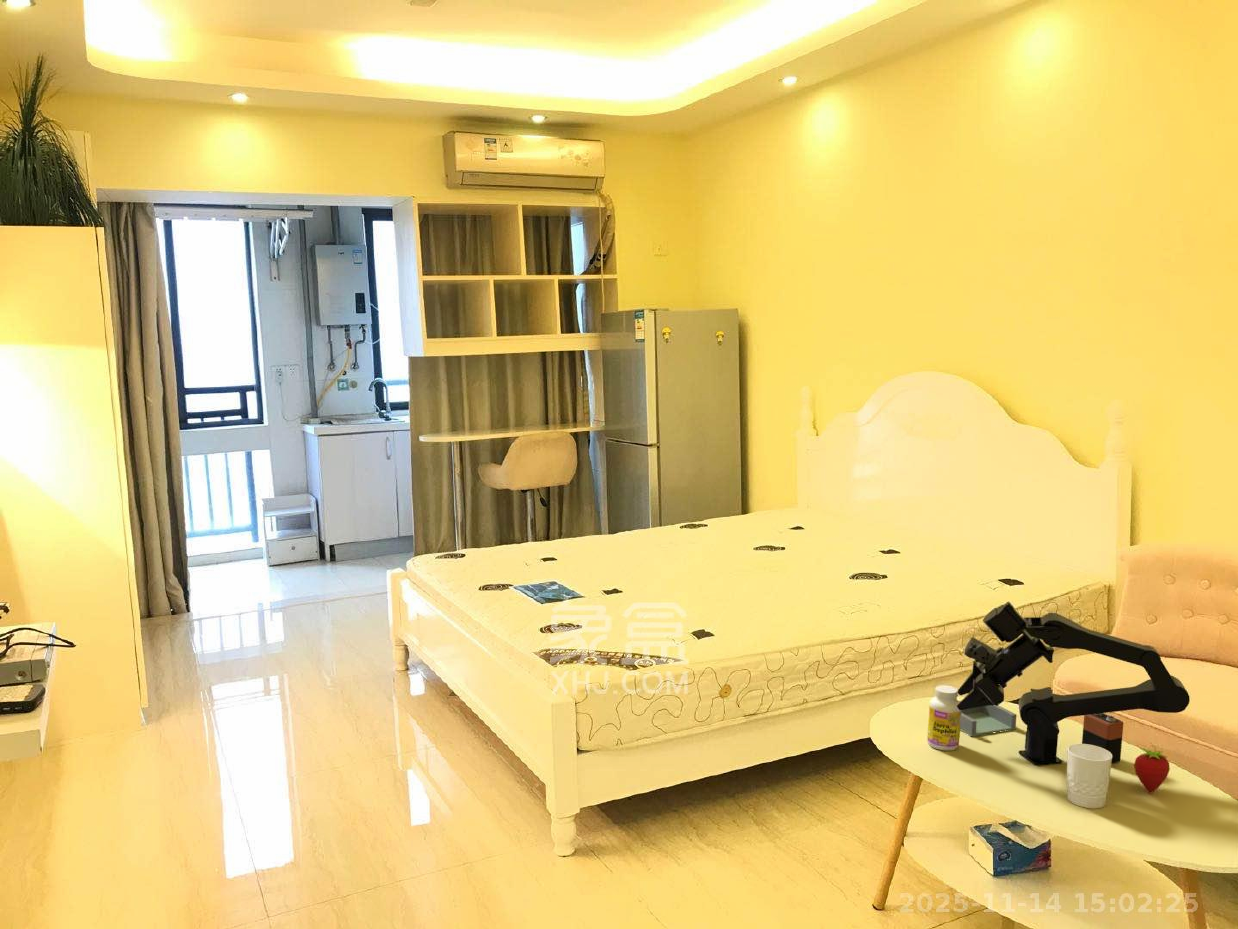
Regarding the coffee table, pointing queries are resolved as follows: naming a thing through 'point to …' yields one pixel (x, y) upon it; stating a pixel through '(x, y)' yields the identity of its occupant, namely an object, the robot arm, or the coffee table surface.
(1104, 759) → the white cup
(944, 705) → the supplement bottle
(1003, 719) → the grey tray
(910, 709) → the coffee table surface
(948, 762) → the coffee table surface
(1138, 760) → the strawberry
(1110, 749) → the battery
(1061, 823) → the coffee table surface
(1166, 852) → the coffee table surface
